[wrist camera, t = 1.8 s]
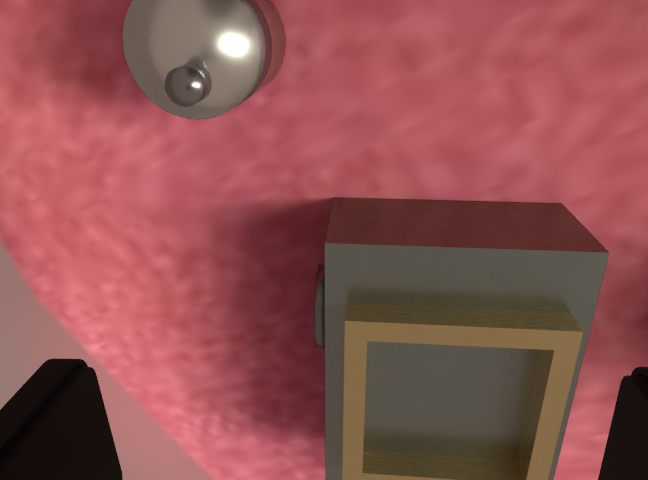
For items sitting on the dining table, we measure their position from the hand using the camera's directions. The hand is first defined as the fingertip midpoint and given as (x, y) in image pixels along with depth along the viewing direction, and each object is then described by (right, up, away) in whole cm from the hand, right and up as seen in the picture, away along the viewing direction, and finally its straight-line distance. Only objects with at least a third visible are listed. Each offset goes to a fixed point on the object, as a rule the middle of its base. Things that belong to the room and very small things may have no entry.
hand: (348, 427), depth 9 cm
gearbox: (+6, -3, +22) cm, 23 cm away
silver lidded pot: (-5, +13, +16) cm, 21 cm away
